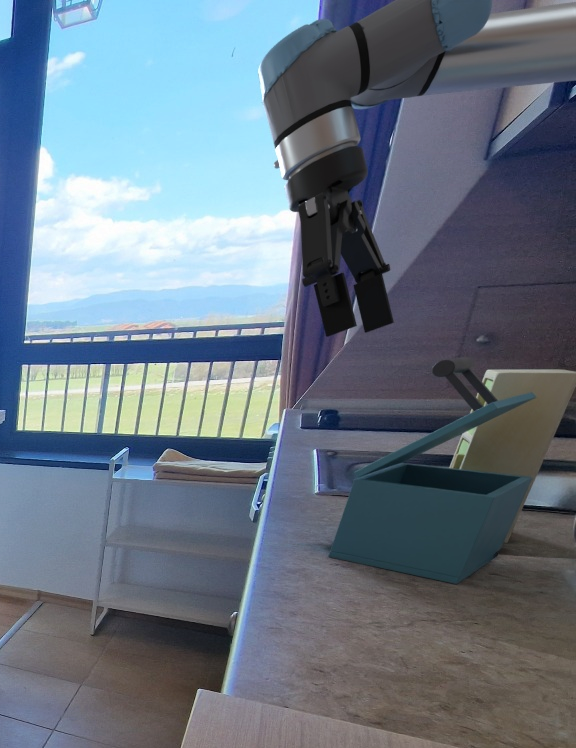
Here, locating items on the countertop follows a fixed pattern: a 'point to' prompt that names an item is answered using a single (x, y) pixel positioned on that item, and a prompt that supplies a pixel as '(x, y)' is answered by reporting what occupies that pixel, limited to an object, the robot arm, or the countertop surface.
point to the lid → (459, 426)
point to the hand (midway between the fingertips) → (361, 329)
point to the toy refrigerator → (517, 425)
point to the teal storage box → (428, 519)
